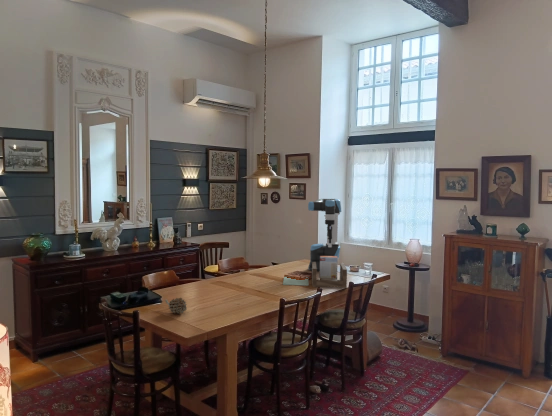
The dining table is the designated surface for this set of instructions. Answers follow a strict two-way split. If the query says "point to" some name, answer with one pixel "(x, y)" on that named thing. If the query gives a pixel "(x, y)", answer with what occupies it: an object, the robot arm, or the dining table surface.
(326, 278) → the upper offcut
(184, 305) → the pine cone
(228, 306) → the dining table surface
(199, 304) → the dining table surface
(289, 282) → the sage mat
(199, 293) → the dining table surface
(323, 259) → the cracker box
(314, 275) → the walnut rack
